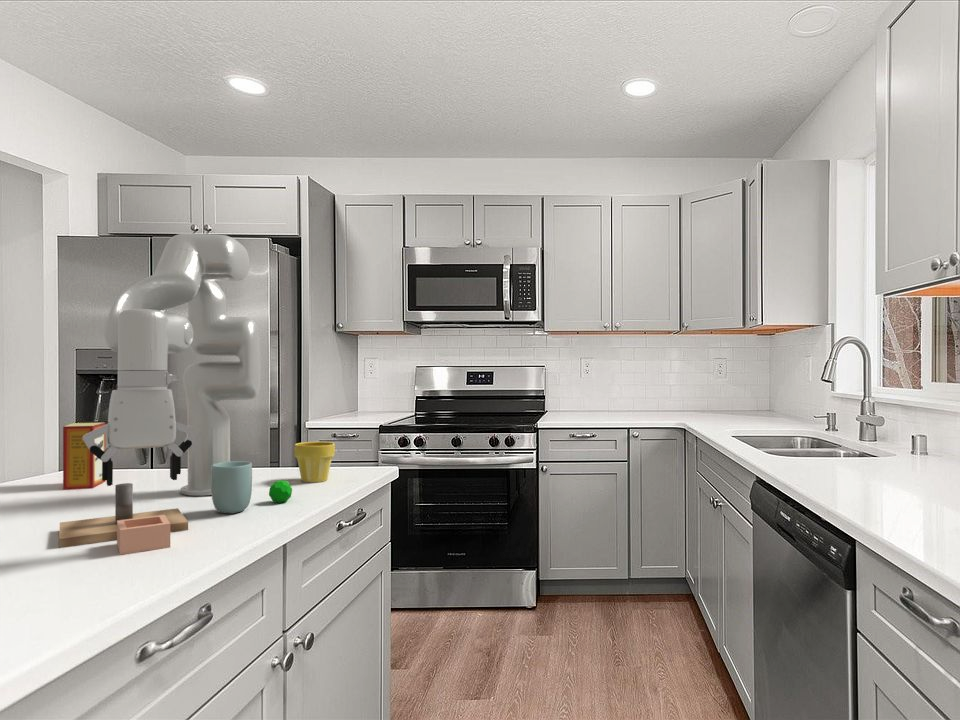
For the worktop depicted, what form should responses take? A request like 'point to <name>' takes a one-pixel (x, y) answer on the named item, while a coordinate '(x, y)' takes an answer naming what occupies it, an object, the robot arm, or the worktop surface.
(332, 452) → the plant pot
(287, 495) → the polyhedron
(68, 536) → the post board
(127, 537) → the collar
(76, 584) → the worktop surface
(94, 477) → the baking soda box
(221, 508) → the cup
